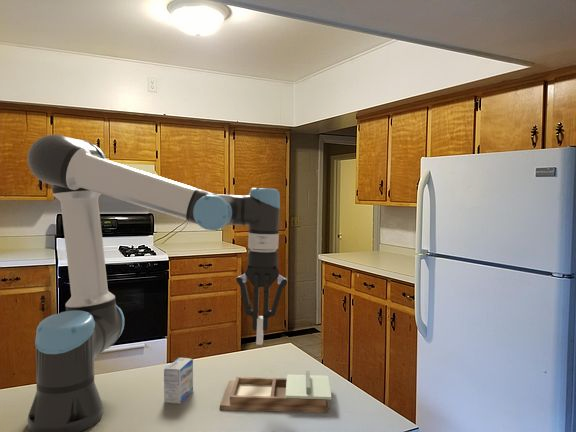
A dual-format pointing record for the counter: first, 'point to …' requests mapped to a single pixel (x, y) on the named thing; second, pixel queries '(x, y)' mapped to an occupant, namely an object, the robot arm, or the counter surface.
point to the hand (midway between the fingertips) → (259, 342)
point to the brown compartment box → (266, 396)
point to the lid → (308, 386)
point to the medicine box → (178, 380)
